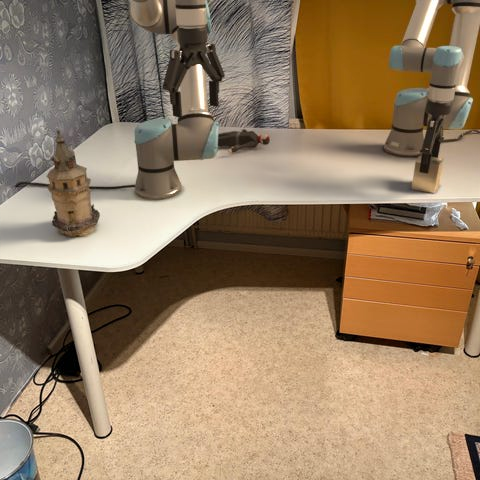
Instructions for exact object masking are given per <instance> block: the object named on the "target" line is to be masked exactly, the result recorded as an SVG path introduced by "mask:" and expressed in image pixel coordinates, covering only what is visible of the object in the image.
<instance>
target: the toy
mask: <svg viewBox="0 0 480 480" xmlns="http://www.w3.org/2000/svg"><path fill="white" fill-rule="evenodd" d="M270 142H271V139H270V136H269V135H268V134H259V135H258V134H257V133H256V132H255V131H254V130H247V129H245V128H241V129H240V131H239V130H238V131H237V130H234V131H225V132H220V133H218V146H217V147H228V148H229V149H227V153H229V154H230V155H231V154H234V153H238V152H239V151H242V150H245V149H248V150H254V149H257V148H258V146H259V144H260V145H264V146H267V145H269V144H270Z"/></svg>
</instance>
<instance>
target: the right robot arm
mask: <svg viewBox="0 0 480 480" xmlns="http://www.w3.org/2000/svg"><path fill="white" fill-rule="evenodd" d="M443 5H452V7H451V11H452V12H453V13H454V15H455V16H454V20H453V25H452V30H451V35H450V41H449V45H441V46H437V47H427V43H428V40H429V37H430V34H431V31H432V28H433V25H434V22H435V19H436V16H437V14H438V10H440V8H441V7H442V6H443ZM479 30H480V0H415V7H414V9H413V12H412V15H411V17H410V19H409V23H408V25H407V28H406V30H405V33H404V36H403V38H402V41H401V44H400V45H399V44H398V45H393V46H392V47H391V49H390V52H389V58H388V67H389V68H390V70H392V71H400V72H412V73H425V74H430V82H429V85H428V87H427V88H425V87H414V88H412V87H411V88H407V89H401V90H400V91H398V92H397V93H396V96H395V99H394V103H393V106H394V107H393V114H392V123H391V129H390V131H389V134H388V136H387V137H386V140H385V142H384V145H383V146H384V147H383V149H384V151H385V152H386V153H388V154H391V155H394V156H399V157H417V156H421V155H422V158H421V164H420V170H419V172H421V173H427V174H428V172H429V167H430V161H431V157H437V158H439V156H440V155H439V154H440V149H441V144H442V143H443V142H444V143H446V142H455V141H460V140H462V139H463V138H464V135H467V134H470V133H475V132H476V133H477V134H480V130H478V129H470V130H467V131H464V132H465V133H464V132H462V133H463V136H462V133H461V134H460V137H461V136H462V137H461V138H460V137H456V138H457V139H456V138H445V136H444V129H446V130H456V131H458V130H462V129H463V128H464V127H465V124H466V122H467V119H468V117H469V114H470V111H471V108H472V104H473V101H474V99H473V97H471V92H470V91H469V89H468V83H469V78H470V73H471V69H472V63H473V58H474V53H475V49H476V45H477V39H478V35H479ZM424 127H426V129H425V130H426V131H425V135H424ZM472 131H474V132H472Z"/></svg>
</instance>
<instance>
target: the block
mask: <svg viewBox="0 0 480 480" xmlns="http://www.w3.org/2000/svg"><path fill="white" fill-rule="evenodd" d="M421 158H422V154H421V155H419V157H418V158H417V159H416V161H415V163H414V170H413V175H412V182H411V190H414V191H420V192H424V193H430V194H435V192H436V191H437V189H438V188H439V186H440V182H441V176H442V170H443V165H444V158H443V157H438V158H437V157H431V161H430V167H429V172H428V174H427V173H421V172H419V170H420V164H421Z"/></svg>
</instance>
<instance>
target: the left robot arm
mask: <svg viewBox="0 0 480 480" xmlns="http://www.w3.org/2000/svg"><path fill="white" fill-rule="evenodd" d="M129 3H130V15H131V18H132V19H133V21H134V22H135V24H136V25H137V26H138V27H140V28H142V29H143V30H145V31H148V32H150V33H153V34H157V35H171V39H172V41H173V42H174V43H176V47H177V48H176V49H170V50H169V60H168V64H167V67H166V71H165V74H164V75H165V76H164V79H163V83H162V88H161V89H162V90H163V91H167V92H168V93H169V103H170V105H171V108H172V117H174V118H177V123H172V122H171V120H170V119H169V118H163V117H162V118H161V117H160V118H159V117H157V118H153V119H148V120H145V121H143V122H140V123H139V124H138V125H136V127H135V128H134V141H133V142H134V144H135V151H136V160H137V175H136V179H135V184H124V185H117V186H116V185H114V186H107V185H105V186H104V185H103V186H101V185H99V186H98V185H97V186H96V185H95V186H94V185H93V186H91V185H89V189H90V190H120V189H130V188H131V189H132V188H134V193H135V195H136V196H137V197H138V198H141V199H143V200H148V201H161V200H168V199H171V198H174V197H176V196H178V195H179V194H180V193H181V192H182V182H181V180H180V177H179V176H178V173H177V171H176V169H175V162H182V161H199V160H200V161H204V160H210V159H214V158H215V157H216V156H217V155H218V147H219V146H218V134H219V128H220V127H219V126H220V125H219V122H218V121H215V120H214V119H215V118H214V115H213V114H211V113H210V112H209V106H212V107H217V108H218V107H219V106H220V104H219V94H220V83H222V82H223V79H224V78H225V76H226V75H225V72H224V68H223V66H222V64H221V61H220V59H219V56H218V54H217V48H216V44H215V43H210V42H208V34H210V33H211V32H212V21H211V13H210V8H209V4H208V0H129ZM207 77H209V79H210V80H209V81H208V87H207ZM179 90H180V91H179ZM208 95H209V101H208ZM49 184H50V183H43V182H30V181H19V182H18V183H16V184H15V185H14V188H18V187H20V186H21V185H22V186H23V185H27V186H40V187H47V188H48V186H49Z"/></svg>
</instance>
